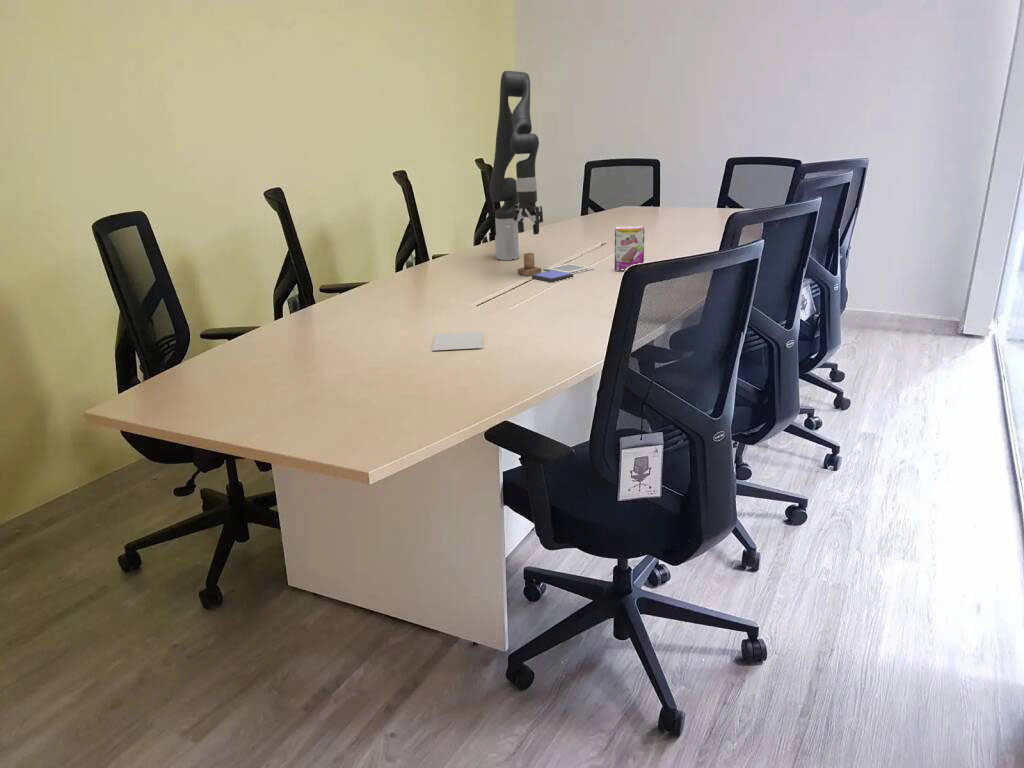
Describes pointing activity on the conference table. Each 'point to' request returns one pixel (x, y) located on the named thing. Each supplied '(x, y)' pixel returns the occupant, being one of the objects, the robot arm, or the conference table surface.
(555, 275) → the ink pad
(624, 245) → the candy bar box
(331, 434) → the conference table surface
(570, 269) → the frame board
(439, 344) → the paper stack
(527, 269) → the stamp
